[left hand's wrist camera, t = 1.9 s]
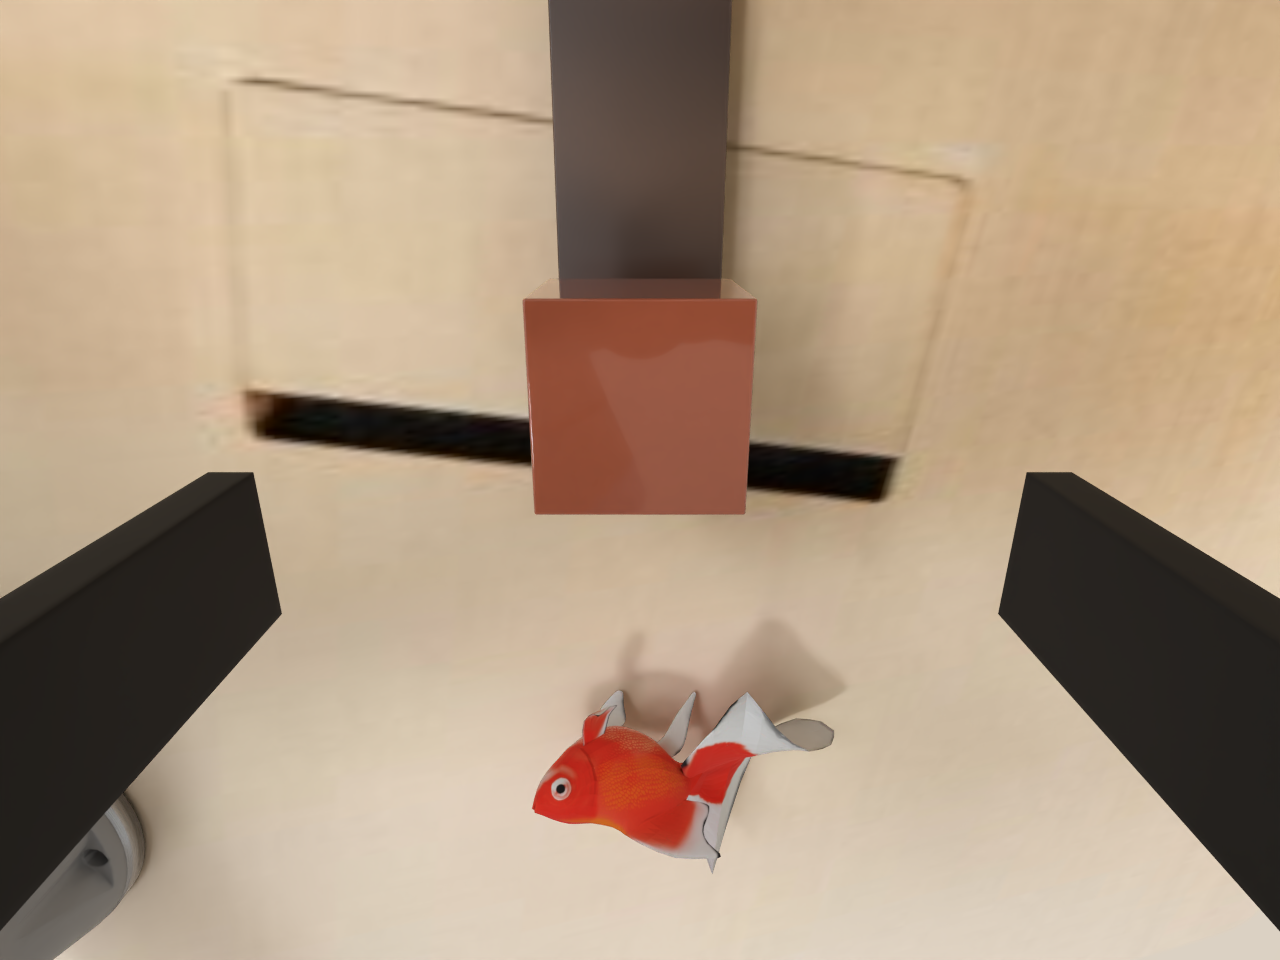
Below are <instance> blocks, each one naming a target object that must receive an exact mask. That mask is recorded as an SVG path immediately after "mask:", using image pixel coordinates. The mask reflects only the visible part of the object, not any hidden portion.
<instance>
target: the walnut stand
mask: <svg viewBox="0 0 1280 960" xmlns="http://www.w3.org/2000/svg"><path fill="white" fill-rule="evenodd" d="M548 8H549V34H550V60H551V86H552V112H553V138H554V164H555V190H556V216H557V241H558V267H559V279H721V274H722V248H723V222H724V196H725V170H726V144H727V119H728V93H729V67H730V41H731V15H732V0H548Z"/></svg>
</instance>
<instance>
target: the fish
mask: <svg viewBox="0 0 1280 960" xmlns="http://www.w3.org/2000/svg"><path fill="white" fill-rule="evenodd" d="M695 696H696V693H695V692H693V693H692V694H691V695H690V697H689V698H688V700H687V701H686V702H685V704H684V705H683V706H682V708H681V709H680V710H679V712H678V713H677V715H676V716H675V718H674V720H673V722H672V724H671V725H670V727H669V729H668V731H667V732H666V734H665V735H664V737H663V738H662V739H661V740H660V741H658V742H655V741H654V740H653V739H651V738H650V737H648V736H646V735H644V734H643V733H641V732H638V731H636V730H633V729H630V728H627V727H623V726H622V725H623V724H624V722H625V720H626V716H625V710H624V702H623V692H622V691H619V690H618V691H616V692H615V693H614V694H613V695H612V696H611V697H610V698H609V699H608V700H607V701H606V702H605V704H604V705H603V706H602V708H601V709H600V711H598V712H595V713H593V714H591V715H589V716H588V718H587V719H586V720H585V721H584V724H583V737H581V738H580V739H579V740H578V741H576V742H575V743H574V744H573V745H572V746H570V747H569V748H568V749H567V750H566V751H565V752H564V753H563V754H562V755H561V756H560V758H559V759H558V760H557V761H556V762H555V763H554V764H553V765H552V766H551V768H550V769H549V770H548V771H547V772H546V774H545V775H544V777H543V779H542V780H541V782H540V784H539V786H538V789H537V791H536V795H535V798H534V802H533V807H532V809H533V810H534V811H535V813H537V814H540V815H543V816H546V817H548V818H550V819H553V820H556V821H559V822H563V823H568V824H582V823H594V824H601V825H606V826H610V827H613V828H615V829H617V830H619V831H621V832H622V833H623V834H625V835H626V836H628V837H630V838H631V839H633V840H635V841H637V842H638V843H640V844H642V845H644V846H646V847H648V848H650V849H652V850H655V851H657V852H659V853H662V854H665V855H668V856H671V857H674V858H686V859H707V861H708V864H709V866H710V869H711V872H712V874H713V870H714V867H715V863H716V860H717V858H719V857H721V856H720V853H719V849H720V846H721V843H722V839H723V836H724V832H725V829H726V825H727V822H728V819H729V816H730V813H731V810H732V807H733V804H734V801H735V798H736V794H737V791H738V788H739V785H740V782H741V780H742V777H743V775H744V773H745V770H746V768H747V765H748V763H749V761H750V758H751V757H752V756H756V755H761V754H766V753H771V752H777V751H787V750H802V751H814V750H819V749H823V748H825V747H827V746H829V745H831V743H832V741H833V738H834V730H832V729H831V728H829V727H828V726H827V725H825V724H824V723H823V722H821V721H815V720H808V719H793V720H790V721H787V722H784V723H781V724H779V725H777V726H774V725H773V723H772V722H771V721H770V719H769V718H768V717H767V715H766V714H765V713H764V712H763V710H762V709H761V708H760V707H759V705H758V704H757V703H756V702H755V701H754V699H753V698H752V697H751V696H750V695H749V693H748V692H746V693H745V694H744V695H743V696H742V697H740V698H739V699H738V700H737V701H736V702H735V703H733V704H732V705H731V706H730V707H729V709H728V710H727V712H726V713H725V714H724V716H723V717H722V718H721V720H720V721H719V723H718V724H717V725H716V727H715V728H714V729H713V730H712V731H711V732H710V733H709V735H708V736H707V737H706V738H705V739H704V740H703V741H702V742H701V743H700V744H699V745H698V746H697V748H696V749H695V750H694V751H693V752H692V753H691V754H690V755H689V757H688V758H687V759H686V760H685V761H684V762H683V763H679V762H677V761H675V760H674V759H673V758H672V757H673V756H675V755H676V754H677V753H678V752H680V750H681V749H682V747H683V745H684V742H685V739H686V735H687V730H688V725H689V720H690V715H691V711H692V707H693V704H694V700H695ZM686 799H687V800H686Z"/></svg>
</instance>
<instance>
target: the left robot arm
mask: <svg viewBox="0 0 1280 960" xmlns="http://www.w3.org/2000/svg"><path fill="white" fill-rule="evenodd" d="M281 614H282V613H281V608H280V603H279V598H278V593H277V588H276V583H275V578H274V573H273V568H272V563H271V558H270V553H269V548H268V543H267V538H266V533H265V528H264V523H263V518H262V513H261V508H260V503H259V498H258V493H257V488H256V484H255V479H254V474H253V472H208V473H206V474H205V475H203V476H201V477H200V478H198V479H196V480H195V481H193V482H192V483H190V484H188V485H187V486H185V487H183V488H182V489H180V490H178V491H177V492H175V493H173V494H172V495H170V496H168V497H167V498H165V499H164V500H162V501H160V502H159V503H157V504H155V505H154V506H152V507H150V508H149V509H147V510H145V511H144V512H142V513H140V514H139V515H137V516H136V517H134V518H132V519H131V520H129V521H127V522H126V523H124V524H122V525H121V526H119V527H117V528H116V529H114V530H112V531H111V532H109V533H108V534H106V535H104V536H103V537H101V538H99V539H98V540H96V541H94V542H93V543H91V544H89V545H88V546H86V547H84V548H83V549H81V550H80V551H78V552H76V553H75V554H73V555H71V556H70V557H68V558H66V559H65V560H63V561H61V562H60V563H58V564H56V565H55V566H53V567H52V568H50V569H48V570H47V571H45V572H43V573H42V574H40V575H38V576H37V577H35V578H33V579H32V580H30V581H28V582H27V583H25V584H24V585H22V586H20V587H19V588H17V589H15V590H14V591H12V592H10V593H9V594H7V595H5V596H4V597H2V598H0V960H53V959H55V958H56V957H57V956H58V955H60V954H61V953H62V952H64V951H65V950H66V949H67V948H69V947H70V946H71V945H73V944H74V943H75V942H76V941H78V940H79V939H80V938H82V937H83V936H84V935H85V934H87V933H88V932H89V931H91V930H92V929H93V928H94V927H96V926H97V925H98V924H99V923H100V922H101V921H102V920H103V919H104V918H106V917H107V916H108V915H109V914H110V913H111V912H112V911H113V910H114V909H115V908H116V906H117V905H118V904H119V903H120V901H121V900H122V899H123V897H124V896H125V895H126V893H127V892H128V891H129V889H130V888H131V887H132V885H133V884H134V883H135V881H136V879H137V878H138V876H139V874H140V871H141V869H142V865H143V861H144V854H145V843H144V836H143V832H142V828H141V825H140V822H139V820H138V818H137V815H136V813H135V811H134V810H133V808H132V806H131V804H130V803H129V801H128V800H127V799H126V797H125V796H124V794H123V792H124V791H125V790H126V789H127V788H128V787H129V785H130V784H131V783H132V782H133V781H134V780H135V779H136V778H137V776H138V775H139V774H140V773H141V772H142V771H143V770H144V769H145V767H146V766H147V765H148V764H149V763H150V762H151V761H152V760H153V758H154V757H155V756H156V755H157V754H158V753H159V752H160V751H161V749H162V748H163V747H164V746H165V745H166V744H167V743H168V741H169V740H170V739H171V738H172V737H173V736H174V735H175V734H176V732H177V731H178V730H179V729H180V728H181V727H182V726H183V725H184V723H185V722H186V721H187V720H188V719H189V718H190V717H191V716H192V714H193V713H194V712H195V711H196V710H197V709H198V708H199V707H200V705H201V704H202V703H203V702H204V701H205V700H206V699H207V698H208V696H209V695H210V694H211V693H212V692H213V691H214V690H215V689H216V687H217V686H218V685H219V684H220V683H221V682H222V681H223V680H224V678H225V677H226V676H227V675H228V674H229V673H230V672H231V670H232V669H233V668H234V667H235V666H236V665H237V664H238V663H239V661H240V660H241V659H242V658H243V657H244V656H245V655H246V654H247V652H248V651H249V650H250V649H251V648H252V647H253V646H254V645H255V643H256V642H257V641H258V640H259V639H260V638H261V637H262V636H263V634H264V633H265V632H266V631H267V630H268V629H269V628H270V627H271V625H272V624H273V623H274V622H275V621H276V620H277V619H278V618H279V616H280V615H281ZM998 614H999V615H1000V616H1001V618H1002V619H1003V620H1004V621H1005V622H1006V623H1007V624H1008V625H1009V627H1010V628H1011V629H1012V630H1013V631H1014V632H1015V633H1016V634H1017V636H1018V637H1019V638H1020V639H1021V640H1022V641H1023V642H1024V643H1025V645H1026V646H1027V647H1028V648H1029V649H1030V650H1031V651H1032V652H1033V654H1034V655H1035V656H1036V657H1037V658H1038V659H1039V660H1040V661H1041V663H1042V664H1043V665H1044V666H1045V667H1046V668H1047V669H1048V670H1049V672H1050V673H1051V674H1052V675H1053V676H1054V677H1055V678H1056V680H1057V681H1058V682H1059V683H1060V684H1061V685H1062V686H1063V687H1064V689H1065V690H1066V691H1067V692H1068V693H1069V694H1070V695H1071V696H1072V698H1073V699H1074V700H1075V701H1076V702H1077V703H1078V704H1079V705H1080V707H1081V708H1082V709H1083V710H1084V711H1085V712H1086V713H1087V714H1088V716H1089V717H1090V718H1091V719H1092V720H1093V721H1094V722H1095V723H1096V725H1097V726H1098V727H1099V728H1100V729H1101V730H1102V731H1103V732H1104V734H1105V735H1106V736H1107V737H1108V738H1109V739H1110V740H1111V741H1112V743H1113V744H1114V745H1115V746H1116V747H1117V748H1118V749H1119V751H1120V752H1121V753H1122V754H1123V755H1124V756H1125V757H1126V758H1127V760H1128V761H1129V762H1130V763H1131V764H1132V765H1133V766H1134V767H1135V769H1136V770H1137V771H1138V772H1139V773H1140V774H1141V775H1142V776H1143V778H1144V779H1145V780H1146V781H1147V782H1148V783H1149V784H1150V785H1151V787H1152V788H1153V789H1154V790H1155V791H1156V792H1157V793H1158V794H1159V796H1160V797H1161V798H1162V799H1163V800H1164V801H1165V802H1166V803H1167V805H1168V806H1169V807H1170V808H1171V809H1172V810H1173V811H1174V812H1175V814H1176V815H1177V816H1178V817H1179V818H1180V819H1181V820H1182V822H1183V823H1184V824H1185V825H1186V826H1187V827H1188V828H1189V829H1190V831H1191V832H1192V833H1193V834H1194V835H1195V836H1196V837H1197V838H1198V840H1199V841H1200V842H1201V843H1202V844H1203V845H1204V846H1205V847H1206V849H1207V850H1208V851H1209V852H1210V853H1211V854H1212V855H1213V856H1214V858H1215V859H1216V860H1217V861H1218V862H1219V863H1220V864H1221V865H1222V867H1223V868H1224V869H1225V870H1226V871H1227V872H1228V873H1229V874H1230V876H1231V877H1232V878H1233V879H1234V880H1235V881H1236V882H1237V883H1238V885H1239V886H1240V887H1241V888H1242V889H1243V890H1244V891H1245V893H1246V894H1247V895H1248V896H1249V897H1250V898H1251V899H1252V900H1253V902H1254V903H1255V904H1256V905H1257V906H1258V907H1259V908H1260V909H1261V911H1262V912H1263V913H1264V914H1265V915H1266V916H1267V917H1268V918H1269V920H1270V921H1271V922H1272V923H1273V924H1274V925H1275V926H1276V927H1277V929H1278V930H1279V931H1280V598H1278V597H1276V596H1275V595H1273V594H1271V593H1270V592H1268V591H1266V590H1265V589H1263V588H1261V587H1260V586H1258V585H1256V584H1255V583H1253V582H1252V581H1250V580H1248V579H1247V578H1245V577H1243V576H1242V575H1240V574H1238V573H1237V572H1235V571H1233V570H1232V569H1230V568H1228V567H1227V566H1225V565H1224V564H1222V563H1220V562H1219V561H1217V560H1215V559H1214V558H1212V557H1210V556H1209V555H1207V554H1205V553H1204V552H1202V551H1200V550H1199V549H1197V548H1196V547H1194V546H1192V545H1191V544H1189V543H1187V542H1186V541H1184V540H1182V539H1181V538H1179V537H1177V536H1176V535H1174V534H1172V533H1171V532H1169V531H1168V530H1166V529H1164V528H1163V527H1161V526H1159V525H1158V524H1156V523H1154V522H1153V521H1151V520H1149V519H1148V518H1146V517H1144V516H1143V515H1141V514H1140V513H1138V512H1136V511H1135V510H1133V509H1131V508H1130V507H1128V506H1126V505H1125V504H1123V503H1121V502H1120V501H1118V500H1116V499H1115V498H1113V497H1112V496H1110V495H1108V494H1107V493H1105V492H1103V491H1102V490H1100V489H1098V488H1097V487H1095V486H1093V485H1092V484H1090V483H1088V482H1087V481H1085V480H1084V479H1082V478H1080V477H1079V476H1077V475H1075V474H1074V473H1072V472H1027V474H1026V479H1025V484H1024V488H1023V493H1022V498H1021V503H1020V508H1019V513H1018V518H1017V523H1016V528H1015V533H1014V538H1013V543H1012V548H1011V553H1010V558H1009V563H1008V568H1007V573H1006V578H1005V583H1004V588H1003V593H1002V598H1001V603H1000V608H999V613H998Z"/></svg>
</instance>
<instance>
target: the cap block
mask: <svg viewBox="0 0 1280 960" xmlns="http://www.w3.org/2000/svg"><path fill="white" fill-rule="evenodd" d="M523 317H524V335H525V353H526V371H527V388H528V406H529V424H530V442H531V459H532V477H533V495H534V512H535V514H745V512H746V495H747V477H748V459H749V442H750V424H751V406H752V388H753V371H754V353H755V335H756V317H757V299H756V298H755V297H753V296H752V295H751V294H749V293H748V292H747V291H746V290H744V289H743V288H742V287H740V286H739V285H738V284H737V283H735V282H734V281H733V280H731V279H549V280H547V281H546V282H545V283H543V284H542V285H541V286H540V287H538V288H537V289H536V290H534V291H533V292H532V293H531V294H529V295H528V296H527V297H525V298H524V299H523Z"/></svg>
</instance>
